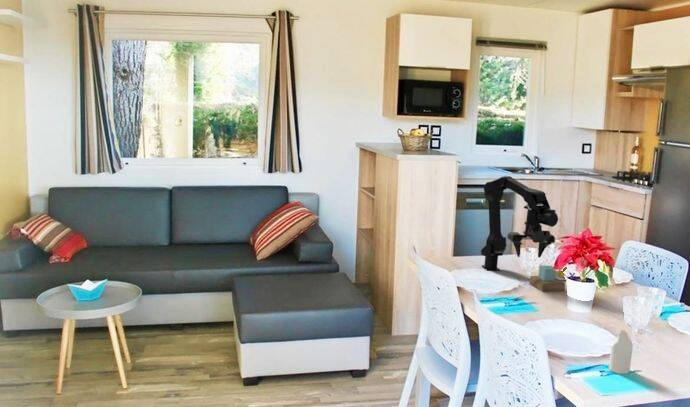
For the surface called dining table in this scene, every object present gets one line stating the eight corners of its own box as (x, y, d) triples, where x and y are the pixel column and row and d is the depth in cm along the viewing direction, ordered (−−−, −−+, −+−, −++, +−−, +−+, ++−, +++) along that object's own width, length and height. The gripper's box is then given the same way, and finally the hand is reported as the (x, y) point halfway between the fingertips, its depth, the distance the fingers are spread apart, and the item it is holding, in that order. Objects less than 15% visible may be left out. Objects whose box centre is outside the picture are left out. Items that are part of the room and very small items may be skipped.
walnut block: (529, 285, 260) (530, 276, 259) (550, 284, 262) (551, 275, 262) (542, 292, 250) (543, 283, 250) (564, 292, 253) (565, 282, 252)
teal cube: (538, 277, 258) (539, 265, 257) (549, 277, 259) (550, 265, 258) (544, 280, 253) (545, 269, 252) (555, 280, 254) (556, 269, 253)
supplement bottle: (553, 279, 269) (556, 250, 266) (552, 275, 275) (556, 247, 273) (569, 281, 267) (573, 252, 264) (568, 277, 273) (572, 249, 271)
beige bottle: (625, 335, 174) (608, 328, 179) (620, 375, 177) (603, 367, 181) (639, 332, 177) (622, 326, 182) (633, 372, 179) (617, 364, 184)
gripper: (520, 225, 248) (515, 262, 251) (563, 226, 251) (558, 263, 254) (509, 218, 259) (504, 254, 262) (551, 220, 261) (546, 255, 264)
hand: (528, 257), depth 260 cm, fingers open, 9 cm apart
